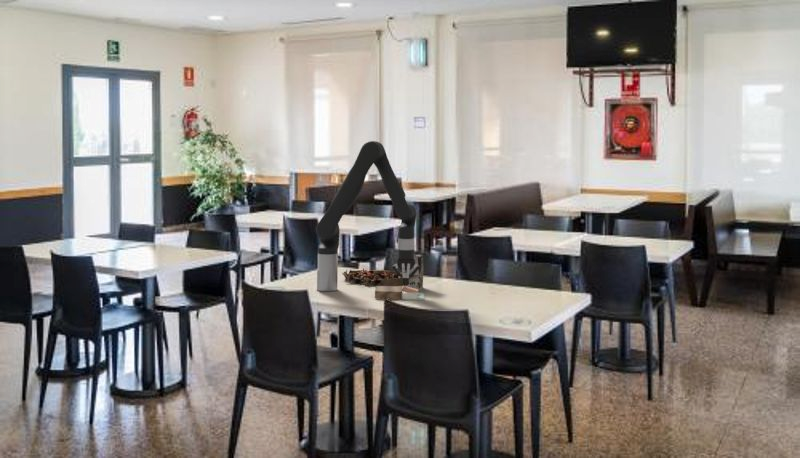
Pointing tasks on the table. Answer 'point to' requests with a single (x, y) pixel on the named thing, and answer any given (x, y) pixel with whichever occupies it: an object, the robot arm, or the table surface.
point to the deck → (388, 292)
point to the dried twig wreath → (373, 277)
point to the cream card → (409, 295)
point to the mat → (420, 297)
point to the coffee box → (417, 274)
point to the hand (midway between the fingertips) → (405, 285)
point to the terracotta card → (409, 289)
